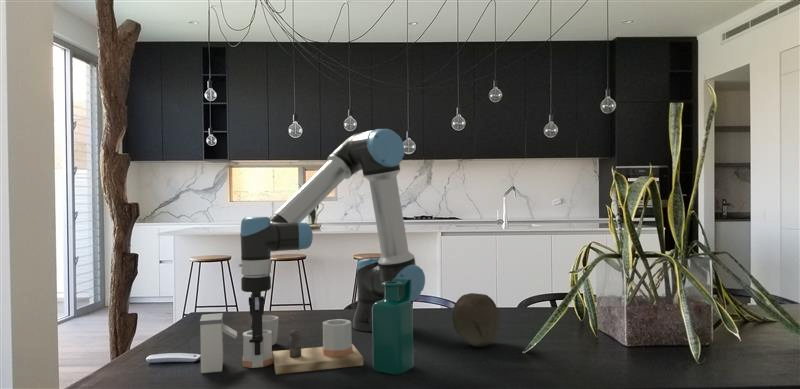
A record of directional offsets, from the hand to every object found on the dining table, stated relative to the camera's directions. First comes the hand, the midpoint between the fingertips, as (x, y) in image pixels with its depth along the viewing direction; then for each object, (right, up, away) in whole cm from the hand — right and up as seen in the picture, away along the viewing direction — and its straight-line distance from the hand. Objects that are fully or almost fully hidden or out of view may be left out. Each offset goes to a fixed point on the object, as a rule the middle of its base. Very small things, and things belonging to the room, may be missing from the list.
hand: (257, 362), depth 144 cm
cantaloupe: (+60, 0, +14) cm, 61 cm away
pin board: (+16, 0, 0) cm, 16 cm away
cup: (-3, -1, +17) cm, 17 cm away
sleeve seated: (+21, +2, +2) cm, 21 cm away
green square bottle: (+36, 0, -6) cm, 37 cm away
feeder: (-8, 0, -2) cm, 9 cm away
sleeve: (0, 0, 0) cm, 0 cm away
